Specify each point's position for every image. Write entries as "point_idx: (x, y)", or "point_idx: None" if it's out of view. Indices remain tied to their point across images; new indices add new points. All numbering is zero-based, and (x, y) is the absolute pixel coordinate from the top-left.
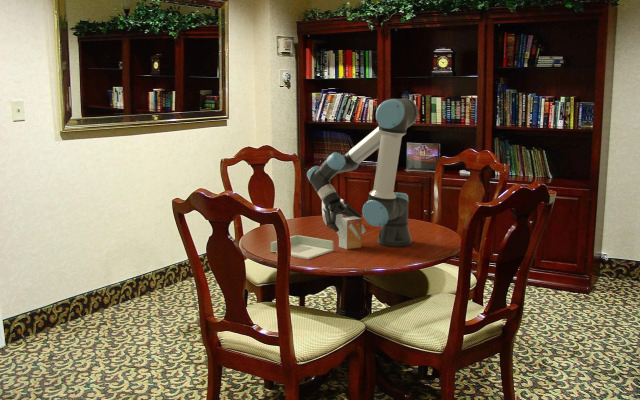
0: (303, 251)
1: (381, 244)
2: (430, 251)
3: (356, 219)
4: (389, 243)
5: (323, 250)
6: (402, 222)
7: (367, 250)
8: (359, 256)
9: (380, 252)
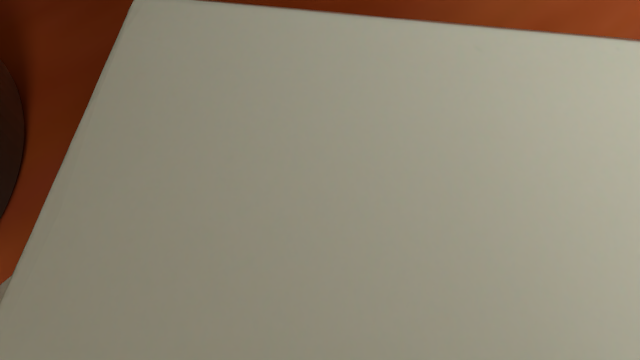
0: None
1: (5, 202)
2: None
3: (385, 23)
4: (4, 82)
5: None
6: None
7: None
8: (618, 27)
9: (314, 9)
